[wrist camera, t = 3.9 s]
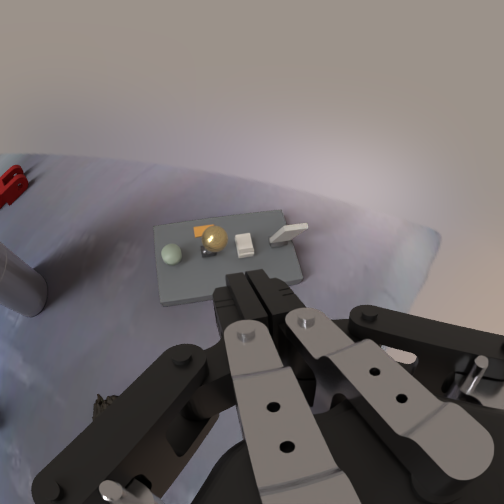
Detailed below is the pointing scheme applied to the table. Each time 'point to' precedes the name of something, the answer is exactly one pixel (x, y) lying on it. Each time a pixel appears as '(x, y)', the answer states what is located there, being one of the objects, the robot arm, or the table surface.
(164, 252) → the push button
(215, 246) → the brass lever
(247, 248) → the white rocker switch
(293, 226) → the pale grey paddle
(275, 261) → the control panel
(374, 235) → the table surface
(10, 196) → the mechanical linkage
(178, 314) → the table surface
